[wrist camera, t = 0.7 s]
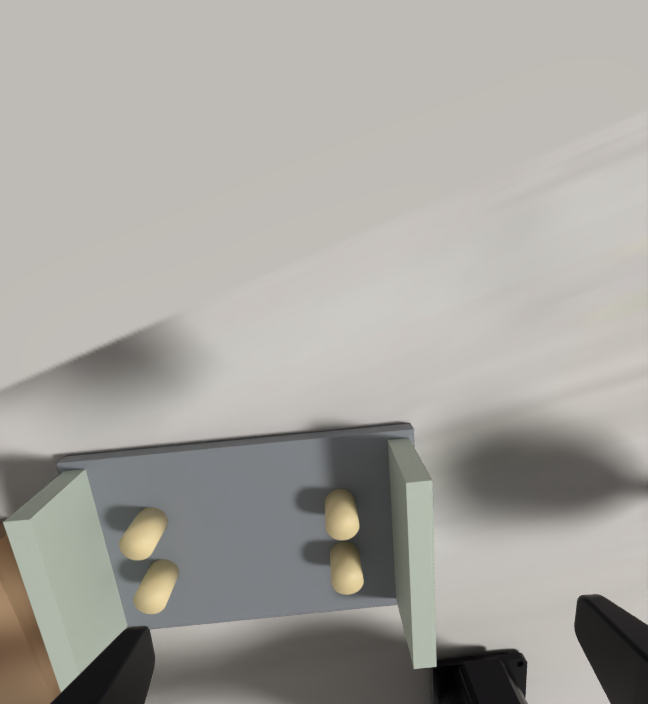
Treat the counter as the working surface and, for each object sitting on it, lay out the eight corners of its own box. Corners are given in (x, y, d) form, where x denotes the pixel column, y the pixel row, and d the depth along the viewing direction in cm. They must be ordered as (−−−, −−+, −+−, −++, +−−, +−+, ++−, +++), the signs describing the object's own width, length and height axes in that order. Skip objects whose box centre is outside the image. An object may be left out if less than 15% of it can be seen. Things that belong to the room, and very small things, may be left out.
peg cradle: (416, 591, 24) (442, 673, 20) (112, 622, 24) (61, 712, 19) (410, 423, 22) (438, 470, 17) (65, 456, 21) (-8, 513, 17)
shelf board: (97, 685, 26) (70, 738, 23) (13, 698, 26) (-25, 753, 23) (29, 514, 23) (-13, 551, 20) (-68, 529, 23) (-123, 568, 20)
